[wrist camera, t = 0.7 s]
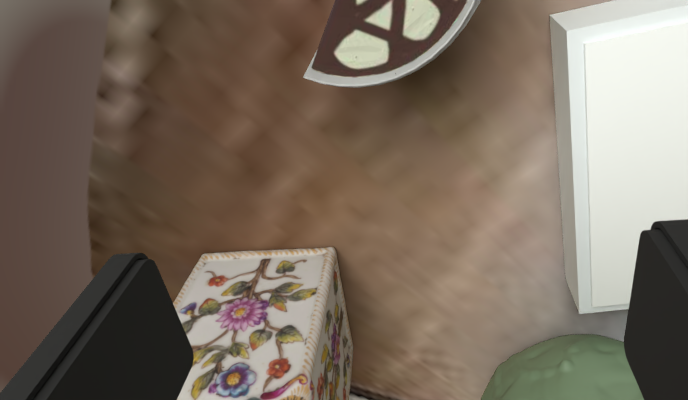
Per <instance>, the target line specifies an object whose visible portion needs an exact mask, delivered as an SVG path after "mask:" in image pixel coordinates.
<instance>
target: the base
mask: <svg viewBox="0 0 688 400" xmlns="http://www.w3.org/2000/svg"><path fill="white" fill-rule="evenodd" d="M550 31H551V48H552V65H553V82H554V98H555V115H556V132H557V149H558V165H559V182H560V199H561V216H562V232H563V249H564V266H565V279H566V281H567V284H568V286H569V289H570V291H571V294H572V296H573V299H574V302H575V304H576V307H577V309H578V312H579V314H585V313H595V312H604V311H614V310H624V309H629V304H630V297H631V290H632V284H633V277H634V271H635V264H636V258H637V251H638V245H639V238H640V234H641V232H642V231H644V230H650V229H651V226H652V224H653V223H654V222H656V221H668V220H684V219H688V0H614V1H609V2H605V3H600V4H596V5H592V6H587V7H583V8H578V9H574V10H569V11H565V12H561V13H556V14H552V15H550Z"/></svg>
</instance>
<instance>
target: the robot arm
mask: <svg viewBox="0 0 688 400" xmlns="http://www.w3.org/2000/svg"><path fill="white" fill-rule="evenodd" d="M624 349H625V354H626V358H627V361H628V363H629V366H630V368H631V370H632V373H633V375H634V377H635V379H636V382H637V384H638V386H639V389H640V391H641V393H642V396H643V398H644V400H688V219H684V220H668V221H656V222H654V223H653V224H652V226H651V229H650V230H644V231H642V232H641V234H640V238H639V245H638V251H637V258H636V264H635V271H634V277H633V284H632V290H631V297H630V304H629V310H628V317H627V323H626V330H625V336H624ZM193 360H194V354H193V349H192V347H191V344H190V342H189V340H188V337H187V335H186V333H185V330H184V328H183V326H182V324H181V321H180V319H179V317H178V314H177V312H176V310H175V307H174V305H173V303H172V300H171V298H170V296H169V293H168V291H167V289H166V286H165V284H164V282H163V280H162V277H161V275H160V273H159V270H158V268H157V266H156V264H155V262H154V261H153V260H151V259H148V257H147V256H146V255H145V254H143V253H129V254H116V255H113V256H112V257H111V258H110V259H109V260H108V261H107V262H106V264H105V265H104V266H103V267H102V269H101V270H100V271H99V272H98V274H97V275H96V276H95V277H94V278H93V280H92V281H91V282H90V284H89V285H88V286H87V287H86V288H85V289H84V291H83V292H82V293H81V294H80V296H79V297H78V298H77V299H76V301H75V302H74V303H73V304H72V306H71V307H70V308H69V309H68V311H67V312H66V313H65V314H64V315H63V317H62V318H61V319H60V321H59V322H58V323H57V324H56V325H55V326H54V328H53V329H52V330H51V332H50V333H49V334H48V335H47V336H46V337H45V339H44V340H43V341H42V343H41V344H40V345H39V346H38V347H37V349H36V350H35V351H34V352H33V354H32V355H31V356H30V357H29V358H28V360H27V361H26V362H25V363H24V365H23V366H22V367H21V368H20V369H19V371H18V372H17V373H16V374H15V376H14V377H13V378H12V379H11V381H10V382H9V383H8V384H7V385H6V387H5V388H4V389H3V390H2V392H1V393H0V400H177V398H178V396H179V394H180V392H181V390H182V387H183V385H184V383H185V381H186V379H187V377H188V375H189V372H190V370H191V368H192V365H193Z"/></svg>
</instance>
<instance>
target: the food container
mask: <svg viewBox="0 0 688 400" xmlns="http://www.w3.org/2000/svg"><path fill="white" fill-rule="evenodd" d="M480 2H481V0H335V3H334V5H333V8H332V11H331V13H330V16H329V19H328V22H327V24H326V27H325V30H324V33H323V36H322V38H321V41H320V44H319V47H318V50H317V51H316V53H315V55H314V57H313V59H312V61H311V63H310V65H309V67H308V69H307V71H306V73H305V75H304V78H305V79H308V80H312V81H315V82H318V83H321V84H326V85H332V86H337V87H367V86H375V85H381V84H384V83H388V82H391V81H394V80H398V79H400V78H402V77H405V76H407V75H409V74H411V73H413V72H415V71H417V70H419V69H420V68H422V67H423V66H425V65H426V64H428V63H429V62H431V61H432V60H434V59H435V58H436V57H437V56H438V55H440V54H441V53H442V52H443V51H444V50H445V49H446V48H447V47H448V46H449V45H451V43H452V42H453V41H454V40H455V38H456V37H457V36H458V35H459V34H460V32H461V31H462V30H463V29H464V28H465V26H466V25H467V24H468V22H469V20H470V19H471V17H472V15H473V14H474V12H475V10H476V9H477V7H478V5H479V4H480Z"/></svg>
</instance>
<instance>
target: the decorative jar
mask: <svg viewBox="0 0 688 400" xmlns="http://www.w3.org/2000/svg"><path fill="white" fill-rule="evenodd" d="M173 305H174V307H175V310H176V312H177V314H178V317H179V319H180V321H181V324H182V326H183V328H184V330H185V333H186V335H187V337H188V340H189V342H190V344H191V347H192V349H193V354H194V360H193V365H192V368H191V370H190V372H189V375H188V377H187V379H186V381H185V383H184V385H183V387H182V390H181V392H180V394H179V396H178V398H177V400H349V392H350V383H351V373H352V360H353V343H352V337H351V332H350V327H349V321H348V316H347V310H346V303H345V299H344V292H343V287H342V282H341V278H340V272H339V266H338V260H337V254H336V250H335V248H334V247H328V248H314V249H311V248H308V249H284V250H264V251H263V250H261V251H238V252H223V253H206V254H203V255H202V256H201V258H200V260H199V261H198V263H197V264H196V266H195V267H194V269H193V270H192V273H191V274H190V276H189V277H188V279H187V280H186V282H185V284H184V286H183V287H182V289H181V291H180V293H179V294H178V296H177V298H176V300H175V301H174V303H173Z"/></svg>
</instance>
